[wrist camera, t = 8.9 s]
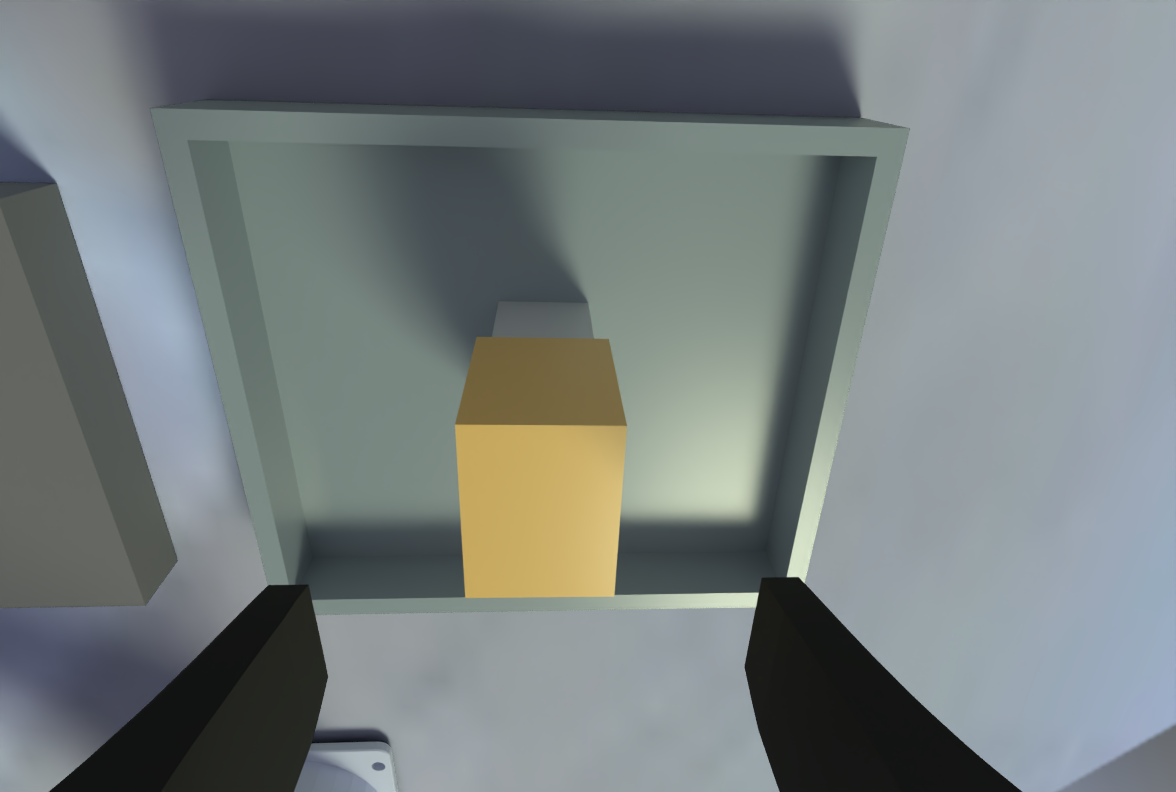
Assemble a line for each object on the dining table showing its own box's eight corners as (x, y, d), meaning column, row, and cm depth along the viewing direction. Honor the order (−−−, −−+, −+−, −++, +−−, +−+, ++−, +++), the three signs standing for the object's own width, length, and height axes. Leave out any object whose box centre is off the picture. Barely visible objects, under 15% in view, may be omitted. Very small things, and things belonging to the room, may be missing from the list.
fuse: (593, 425, 20) (614, 596, 14) (491, 424, 20) (465, 598, 13) (599, 295, 18) (627, 425, 12) (487, 293, 18) (455, 424, 12)
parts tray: (775, 553, 23) (799, 606, 21) (302, 559, 22) (275, 615, 20) (862, 117, 17) (910, 128, 15) (205, 99, 16) (149, 108, 14)
